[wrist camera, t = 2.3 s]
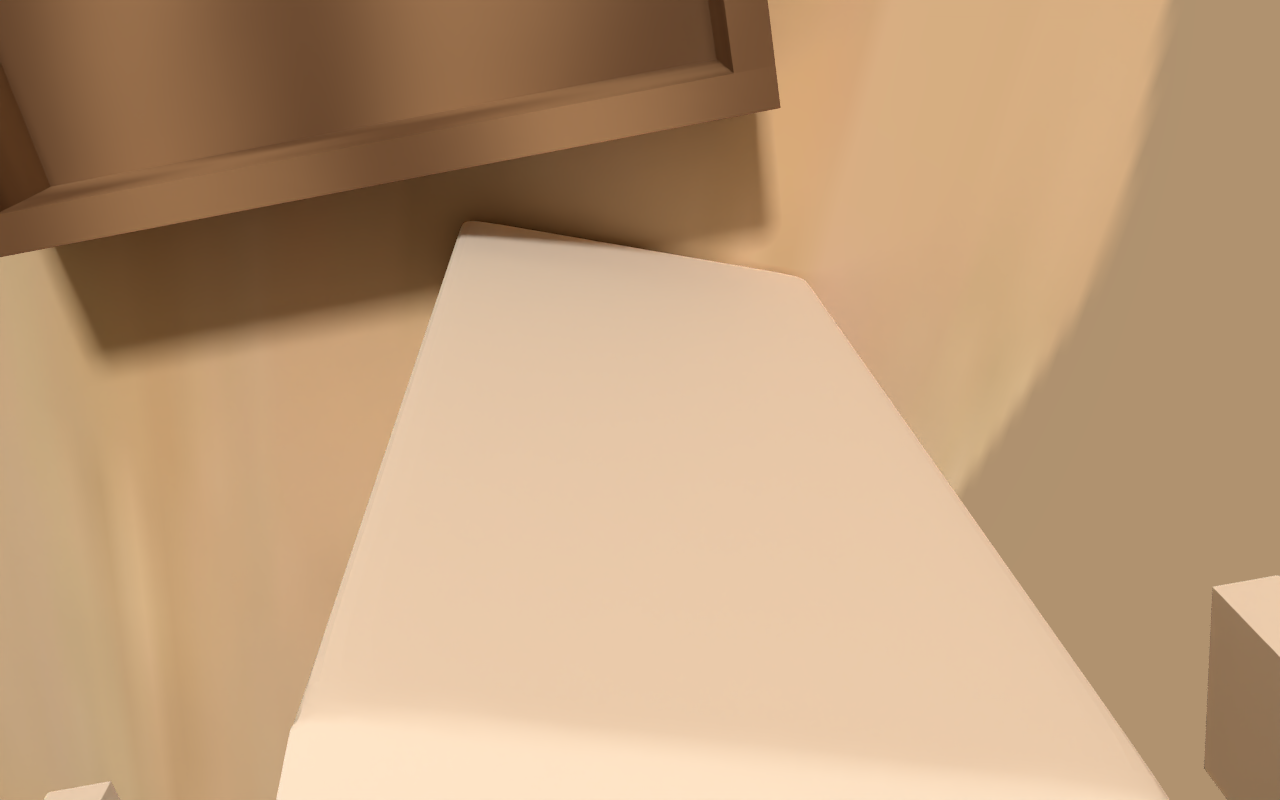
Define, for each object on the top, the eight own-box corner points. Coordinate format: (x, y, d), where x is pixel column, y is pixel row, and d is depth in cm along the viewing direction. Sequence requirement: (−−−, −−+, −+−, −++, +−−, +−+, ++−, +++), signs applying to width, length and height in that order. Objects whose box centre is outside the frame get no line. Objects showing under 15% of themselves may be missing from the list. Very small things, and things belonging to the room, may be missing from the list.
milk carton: (730, 565, 25) (1109, 1981, 8) (421, 524, 24) (67, 2034, 7) (806, 274, 23) (1642, 1441, 5) (463, 215, 22) (56, 1404, 4)
